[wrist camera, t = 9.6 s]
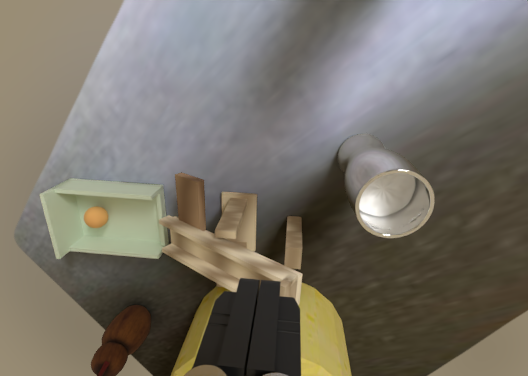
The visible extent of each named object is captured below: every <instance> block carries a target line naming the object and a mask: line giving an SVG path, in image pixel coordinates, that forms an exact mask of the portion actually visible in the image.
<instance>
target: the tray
mask: <svg viewBox="0 0 528 376" xmlns="http://www.w3.org/2000/svg"><path fill="white" fill-rule="evenodd" d="M39 195H40V199H41V202H42V206H43V210H44V214H45V217H46V221H47V225H48V229H49V233H50V236H51V240H52V244H53V248H54V251H55V255H56V259H61V258H62V257H63V256H65V255H66V254H67V253H68V252H69V251H75V252H86V253H98V254H109V255H120V256H131V257H143V258H154V259H159V258H160V256H161V255H162V253H163V252H162V248H163V247H165V246H167V245H169V239H168V229H167V227H165V226H163V225H161V224H159V219H161V218H164V217H166V208H165V198H164V188H163V185H158V184H143V183H129V182H115V181H100V180H86V179H72V178H70V179H68V180H66V181H64V182H62V183H61V184H59V185H57V186H55V187H53V188H51V189H49V190H47V191H45V192H43V193H41V194H39ZM94 206H99V207H102V208H104V209H105V210H106V211H107V212H108V221H107V223H106V224H105V225H104V226H102V227H100V228H91V227H89V226H88V225H87V224H86V223H85V221H84V214H85V212H86V211H87V210H88V209H89V208H91V207H94Z"/></svg>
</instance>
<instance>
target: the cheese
mask: <svg viewBox="0 0 528 376" xmlns="http://www.w3.org/2000/svg"><path fill="white" fill-rule="evenodd" d="M224 291H229V292H232V291H230V290H228V289H226V288H225V287H217V286H216V287H215V288H214V289H213V290H212V291H210V292H209V293H208V294H207V295H206V296H205V297H204V298H203V300H202V302H201V304H200V306H199V308H198V310H197V312H196V314H195V316H194V319H193V321H192V324H191V326H190V329H189V331H188V333H187V336H186V338H185V341H184V343H183V346H182V348H181V351H180V353H179V356H178V358H177V361H176V363H175V366H174V368H173V371H172V373H171V376H184V375H185V374H186V373H187V372H188V371H189V370H191V369H192V367H193V364H194V362H195V359H196V356H197V353H198V350H199V347H200V344H201V341H202V338H203V335H204V332H205V329H206V327H207V325H208V321H209V318H210V315H211V312H212V309H213V306H214V303H215V300H216V299H217V298H218V297H219V296H220V295H221V294H222V293H223V292H224ZM298 306H299V308H300V331H301V332H300V335H301V376H351V371H350V365H349V359H348V354H347V348H346V342H345V336H344V331H343V325H342V321H341V319H340V317H339V315H338V314H337V312H336V310H335V308H334V306H333V305H332V303H331V302H330V301H328V300H327V299H326V298H325V297H324V296H323V295H322V294H320V293H319V292H318V291H317V290H316V289H315V288H313V287H311V286H309V285H306V284H304V283H302V284H301V294H300V304H299V305H298Z"/></svg>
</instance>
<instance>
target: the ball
mask: <svg viewBox="0 0 528 376" xmlns="http://www.w3.org/2000/svg"><path fill="white" fill-rule="evenodd" d="M84 221H85V223H86V224H87V225H88V226H89V227H91V228H100V227H102V226H104V225H105V224H106V223H107V221H108V212H107V211H106V210H105V209H104V208H102V207H99V206H94V207H91V208H89V209H88V210H87V211H86V212H85V214H84Z"/></svg>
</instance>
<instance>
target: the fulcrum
mask: <svg viewBox="0 0 528 376" xmlns="http://www.w3.org/2000/svg"><path fill="white" fill-rule="evenodd" d="M256 217H257V194H250V193H236V192H222V217H221V219H220V221H219V223H218V225H217V227H216V229H215V237H219V238H225V239H227V240H229V241H231V242H234V243H236V244H238V245H240V246H242V247H245V248H247V249H249V250H251V251H255V250H256ZM301 258H302V220H301V217H296V216H287V230H286V246H285V263H284V266H286V267H289V268H292V269H300V268H301ZM216 285H217V287H223V286H221V285H219V284H218V283H216Z"/></svg>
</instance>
